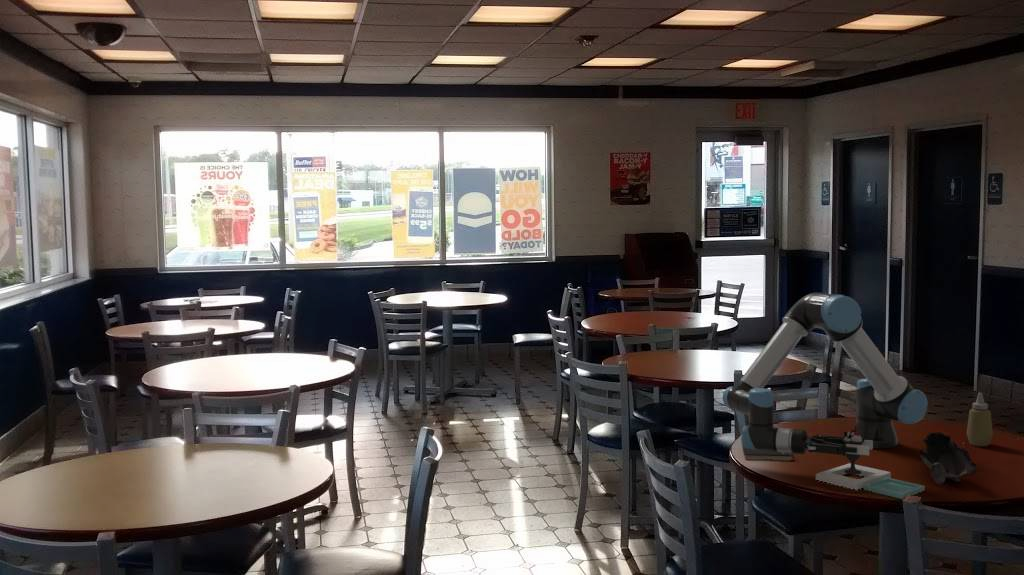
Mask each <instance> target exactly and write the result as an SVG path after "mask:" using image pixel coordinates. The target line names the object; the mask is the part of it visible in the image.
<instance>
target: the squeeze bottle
mask: <svg viewBox="0 0 1024 575" xmlns="http://www.w3.org/2000/svg"><path fill="white" fill-rule="evenodd" d="M988 407H989V404H988V403H986V402H985V400H984V395H983V392H978V393H977V397H976V400H975V402H973V403H972V408H971V409H970V410H969V413H968V421H967V427H966V435H967V439H968V442H969V444H970V445H971V446H976V447H988V446H989V445H990V444H991V441H992V438H993V436H994V435H993V424H992V422H993V421H992V413H991V410H989V409H988Z"/></svg>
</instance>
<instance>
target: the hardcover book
mask: <svg viewBox="0 0 1024 575" xmlns="http://www.w3.org/2000/svg"><path fill="white" fill-rule="evenodd" d="M740 441H741V443H742V439H741V438H740ZM741 445H742V444H741ZM741 447H742V451H743V452H742V453H743V456H744V460H756V461H757V460H759V461H761V459H762V461H763V459H764V460H765V459H768V460H767V461H770V460H769V459H772V460H771V461H791V460H794V461H795V457H794V453H793V452H791V453H786V452H785V454H782V452H776V451H763V450H754V449H748V448H745V447H744V446H743V445H742V446H741ZM765 461H766V460H765Z"/></svg>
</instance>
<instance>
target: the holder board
mask: <svg viewBox="0 0 1024 575" xmlns="http://www.w3.org/2000/svg"><path fill="white" fill-rule="evenodd" d="M850 467H851V462H849V463H846V464H844V465H840V466H839V465H838V466H837V467H833V468H831V469H830V468H829V469H828V470H823V471H820V472H817V473H815V481H816V480H819V481H818V482H820V481H823V482H822V483H824V482H827V483H826V484H829V483H831V484H830V485H833V484H834V486H837V485H838V487H841V486H843V487H842V488H845V487H846V488H845V489H849V488H850V489H849V490H853V489H855V490H854V491H859V490H858V489H860V490H862V489H861V488H863V489H864V485H866V484H869V483H872V482H875V481H878V480H881V479H883V478H886V477H887V478H891V479H892V477H891V475H892V473H891V472H890V471H886V470H883V469H877V468H873V467H868V466H865V465H860V464H859V465H858V464H856V463H855V468H856V470H859V471H861V474H854V475H853V476H857V475H859V477H862V476H864V477H862V478H854V477H850V476H845V475H847V473H845V472H844V471H845V470H848V469H850Z"/></svg>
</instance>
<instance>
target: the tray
mask: <svg viewBox="0 0 1024 575" xmlns="http://www.w3.org/2000/svg"><path fill="white" fill-rule="evenodd" d="M925 487H926V486H925V485H922V484H917V483H914V482H913V483H912V482H908V481H905V480H899V479H895V478H892V477H891V478H887V477H886V478H883V479H881V480H878V481H875V482H872V483H869V484H866V485H864V488H863V490H864V491H867V490H868V491H867V492H871V491H872V492H871V493H874V494H879V495H882V496H883V495H884V496H889V497H892V498H896V499H900V500H904V499H905V498H904V497H905V496H908V495H912V496H914V495H917V494H920V493H923V492H925V491H924V490H925V489H926V488H925ZM922 491H923V492H922ZM919 492H920V493H919ZM903 498H904V499H903Z"/></svg>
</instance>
